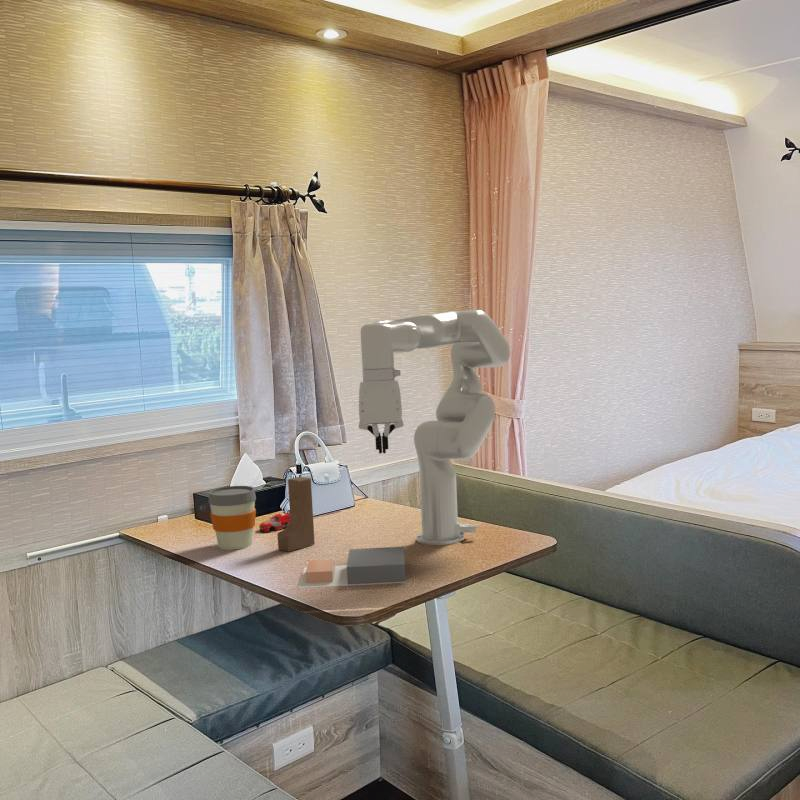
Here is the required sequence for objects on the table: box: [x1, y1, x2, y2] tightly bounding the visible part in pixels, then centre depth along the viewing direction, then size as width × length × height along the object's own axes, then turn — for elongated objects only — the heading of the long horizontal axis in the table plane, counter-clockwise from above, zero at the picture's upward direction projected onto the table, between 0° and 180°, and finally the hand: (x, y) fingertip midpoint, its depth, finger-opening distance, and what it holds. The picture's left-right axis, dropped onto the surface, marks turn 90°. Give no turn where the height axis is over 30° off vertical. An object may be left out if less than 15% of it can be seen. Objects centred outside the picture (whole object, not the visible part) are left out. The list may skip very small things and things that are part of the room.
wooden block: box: [277, 476, 315, 553], centre depth 215 cm, size 9×4×18 cm, turn 136°
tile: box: [306, 558, 336, 583], centre depth 189 cm, size 6×9×2 cm, turn 1°
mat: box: [297, 564, 407, 589], centre depth 190 cm, size 24×15×1 cm, turn 91°
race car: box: [258, 512, 290, 533], centre depth 238 cm, size 13×5×4 cm, turn 129°
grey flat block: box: [346, 546, 407, 586], centre depth 189 cm, size 13×14×4 cm
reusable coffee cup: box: [208, 485, 257, 551], centre depth 220 cm, size 13×13×15 cm
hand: (382, 452), depth 196 cm, fingers closed
